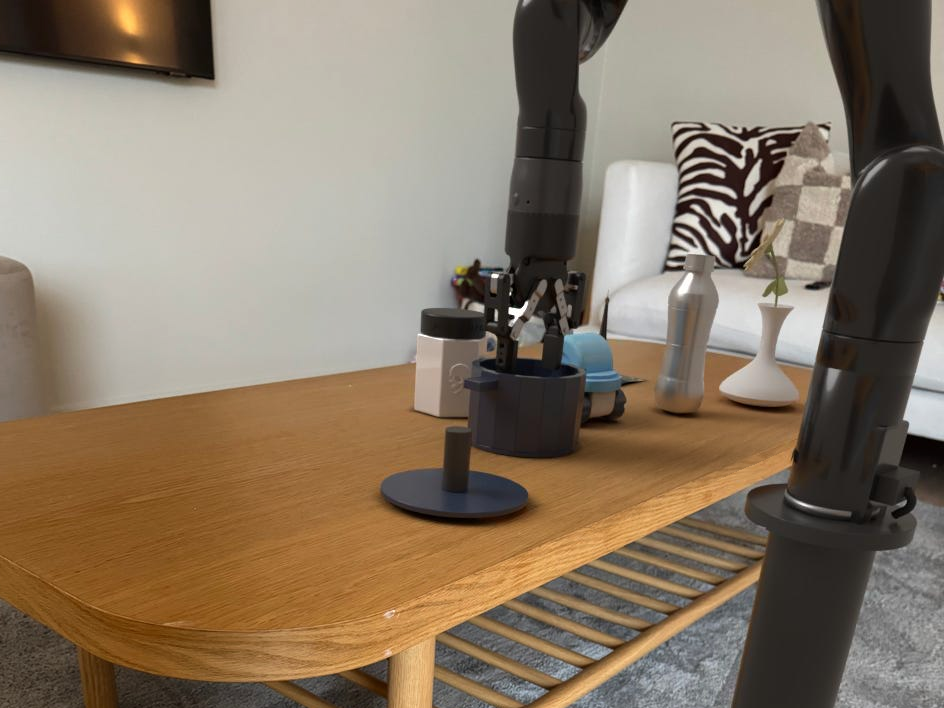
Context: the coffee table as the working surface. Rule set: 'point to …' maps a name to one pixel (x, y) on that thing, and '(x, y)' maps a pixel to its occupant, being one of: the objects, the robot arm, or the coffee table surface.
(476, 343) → the jar
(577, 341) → the toy excavator
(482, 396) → the pot
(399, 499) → the lid
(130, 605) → the coffee table surface
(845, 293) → the robot arm
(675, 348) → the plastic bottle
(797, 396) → the flower in vase
